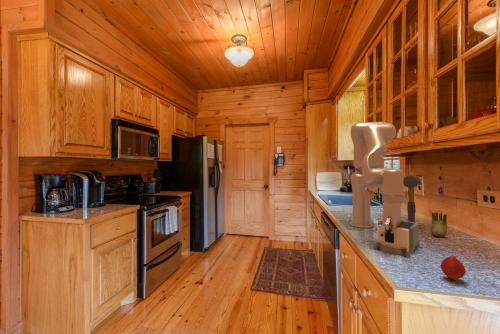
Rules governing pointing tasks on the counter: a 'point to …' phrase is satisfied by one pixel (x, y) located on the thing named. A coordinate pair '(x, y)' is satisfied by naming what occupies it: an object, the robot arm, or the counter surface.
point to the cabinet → (413, 240)
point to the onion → (453, 268)
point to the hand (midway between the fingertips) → (392, 239)
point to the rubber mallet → (411, 194)
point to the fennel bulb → (439, 225)
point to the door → (399, 237)
